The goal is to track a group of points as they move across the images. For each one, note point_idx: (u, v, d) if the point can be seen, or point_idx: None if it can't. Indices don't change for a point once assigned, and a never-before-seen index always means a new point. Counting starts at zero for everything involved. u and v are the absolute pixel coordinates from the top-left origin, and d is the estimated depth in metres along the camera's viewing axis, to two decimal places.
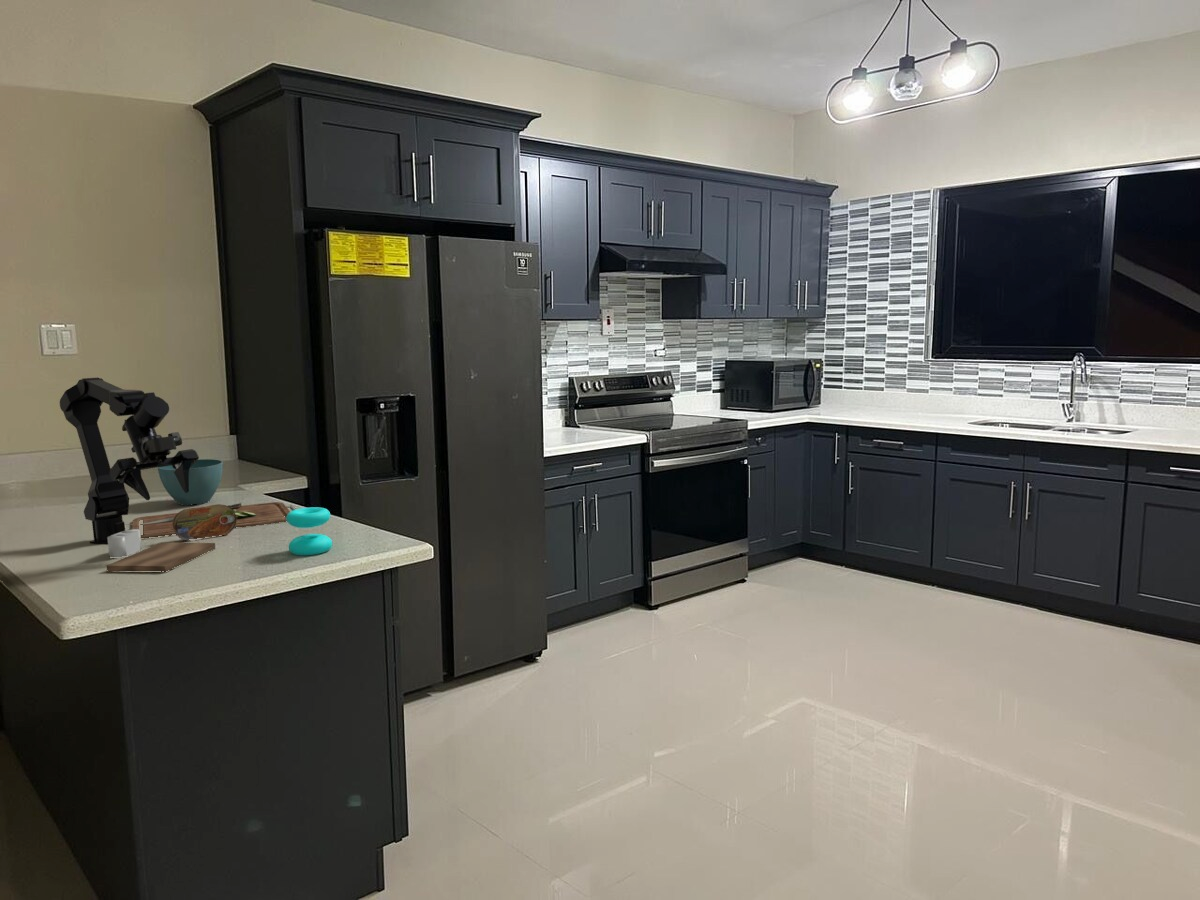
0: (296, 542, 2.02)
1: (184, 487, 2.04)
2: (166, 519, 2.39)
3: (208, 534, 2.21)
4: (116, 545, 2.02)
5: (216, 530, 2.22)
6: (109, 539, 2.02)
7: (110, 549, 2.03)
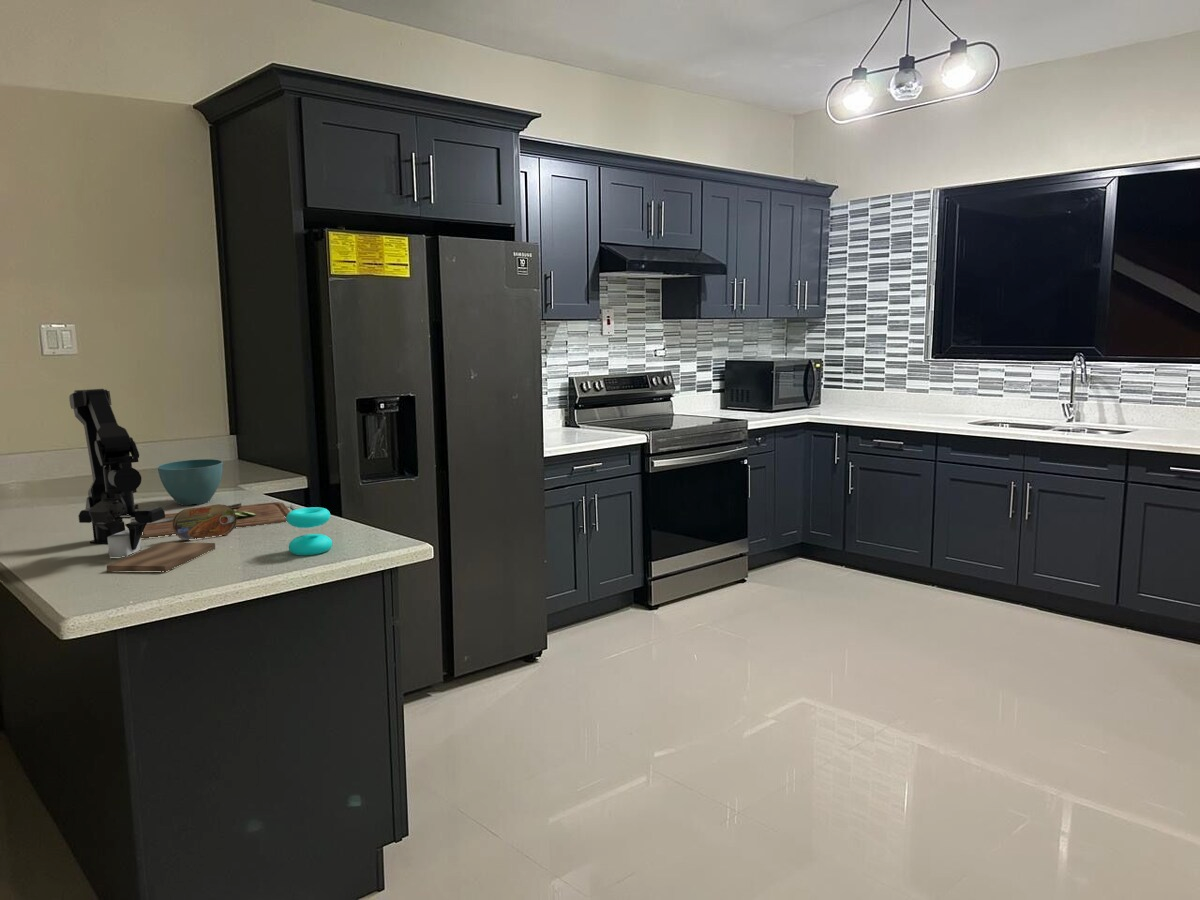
0: (296, 542, 2.02)
1: None
2: (166, 519, 2.39)
3: (208, 534, 2.21)
4: (116, 545, 2.02)
5: (216, 530, 2.22)
6: (109, 539, 2.02)
7: (110, 549, 2.03)
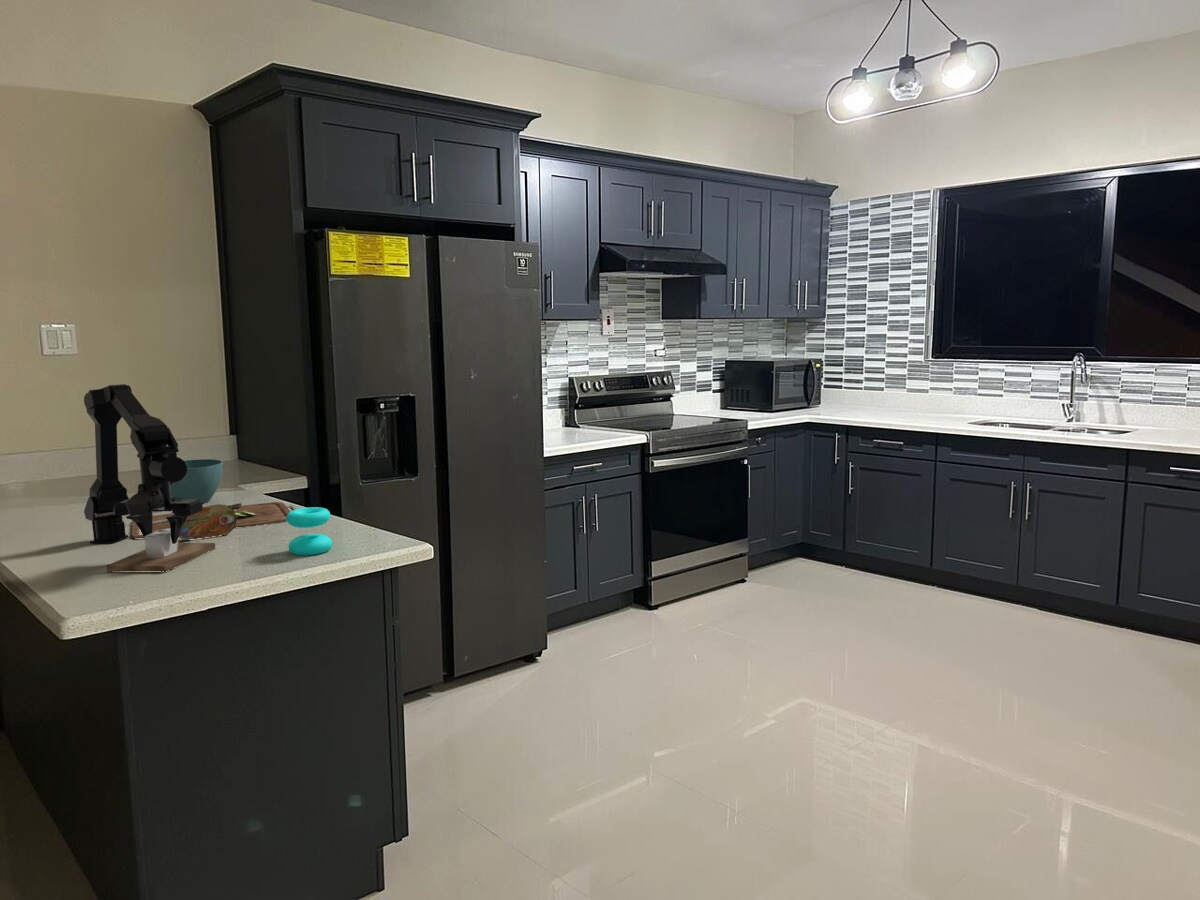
0: (296, 542, 2.02)
1: None
2: (166, 519, 2.39)
3: (208, 534, 2.21)
4: (153, 545, 1.96)
5: (216, 530, 2.22)
6: (146, 538, 1.96)
7: (147, 549, 1.96)
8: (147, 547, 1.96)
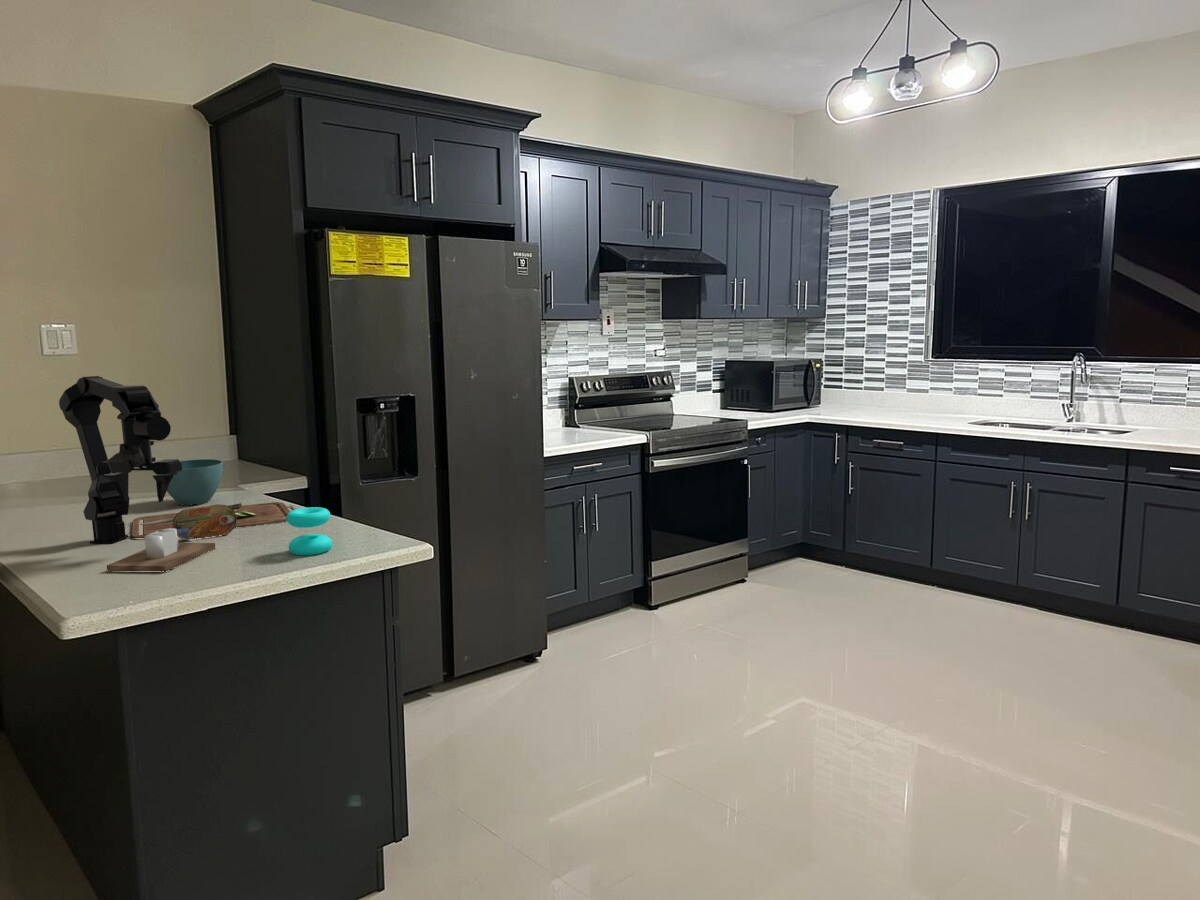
0: (296, 542, 2.02)
1: None
2: (166, 519, 2.39)
3: (208, 534, 2.21)
4: (153, 545, 1.96)
5: (216, 530, 2.22)
6: (146, 538, 1.96)
7: (147, 549, 1.96)
8: (147, 547, 1.96)
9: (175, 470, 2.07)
